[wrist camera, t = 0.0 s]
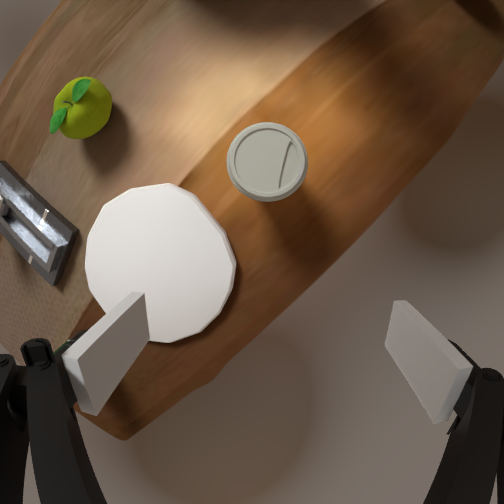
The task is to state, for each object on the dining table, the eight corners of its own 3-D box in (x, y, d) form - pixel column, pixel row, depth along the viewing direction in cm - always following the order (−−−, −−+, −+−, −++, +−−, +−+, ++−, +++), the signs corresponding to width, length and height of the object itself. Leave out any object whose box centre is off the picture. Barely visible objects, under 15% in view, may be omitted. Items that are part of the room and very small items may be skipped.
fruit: (132, 111, 38) (100, 96, 29) (92, 151, 40) (54, 147, 30) (106, 76, 37) (74, 57, 27) (69, 115, 38) (32, 106, 29)
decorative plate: (157, 148, 36) (266, 296, 40) (167, 151, 40) (266, 285, 44) (53, 253, 40) (143, 370, 44) (67, 248, 44) (151, 358, 48)
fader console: (-11, 210, 43) (-22, 212, 39) (4, 160, 40) (-7, 160, 37) (58, 283, 45) (47, 289, 42) (79, 229, 43) (67, 233, 39)
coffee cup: (266, 210, 41) (266, 220, 29) (223, 167, 40) (206, 160, 28) (310, 168, 39) (328, 162, 28) (267, 125, 38) (267, 102, 26)
